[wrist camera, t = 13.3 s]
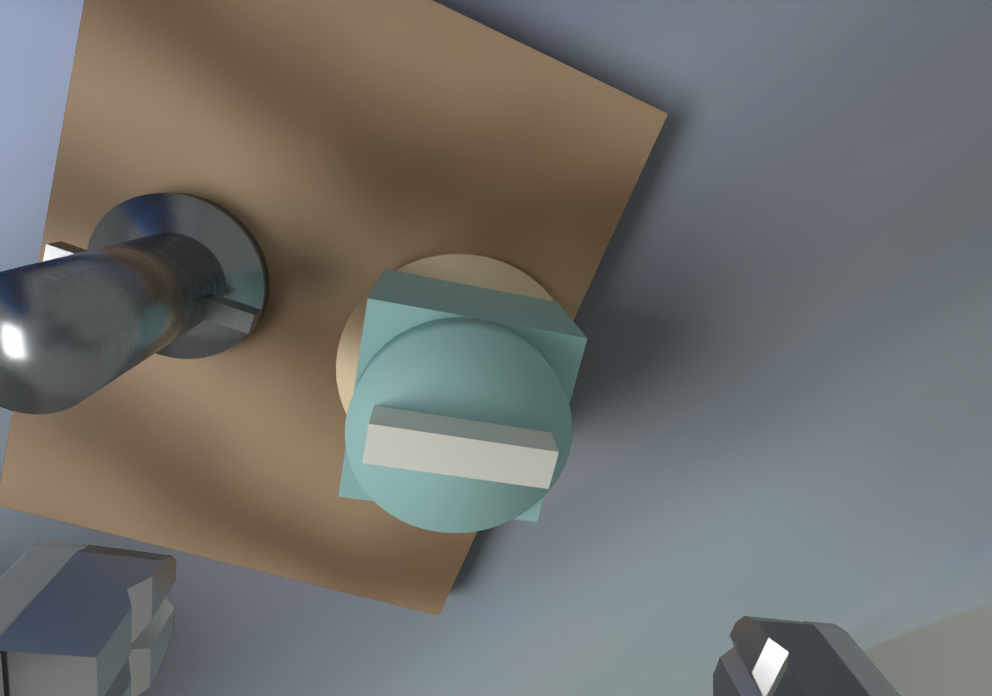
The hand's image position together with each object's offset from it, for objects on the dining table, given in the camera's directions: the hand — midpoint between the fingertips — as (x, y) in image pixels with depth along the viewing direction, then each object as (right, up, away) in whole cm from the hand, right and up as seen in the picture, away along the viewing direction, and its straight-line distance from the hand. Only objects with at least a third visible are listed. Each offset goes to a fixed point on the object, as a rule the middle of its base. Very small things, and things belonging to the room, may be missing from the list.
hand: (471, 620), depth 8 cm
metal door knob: (-9, +6, +9) cm, 14 cm away
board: (-6, +5, +11) cm, 13 cm away
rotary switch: (-1, +3, +10) cm, 11 cm away
